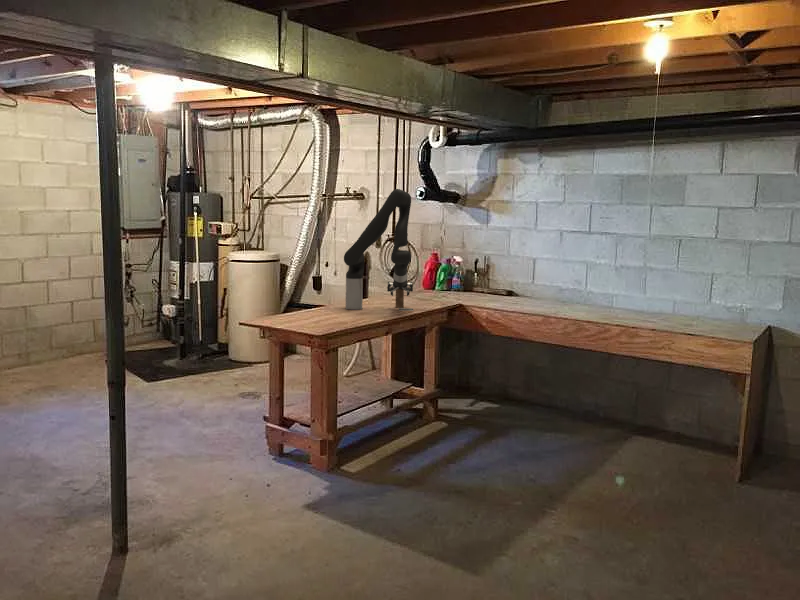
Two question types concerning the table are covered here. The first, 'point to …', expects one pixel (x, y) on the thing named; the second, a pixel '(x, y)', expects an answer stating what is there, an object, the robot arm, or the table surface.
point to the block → (399, 298)
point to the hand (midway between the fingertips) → (399, 294)
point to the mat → (406, 309)
